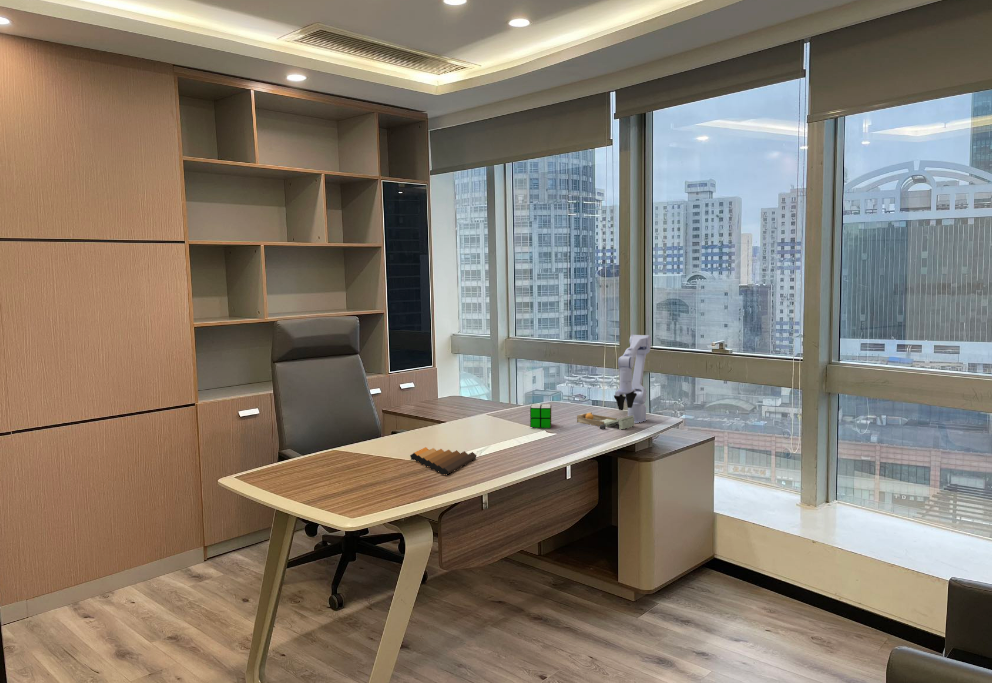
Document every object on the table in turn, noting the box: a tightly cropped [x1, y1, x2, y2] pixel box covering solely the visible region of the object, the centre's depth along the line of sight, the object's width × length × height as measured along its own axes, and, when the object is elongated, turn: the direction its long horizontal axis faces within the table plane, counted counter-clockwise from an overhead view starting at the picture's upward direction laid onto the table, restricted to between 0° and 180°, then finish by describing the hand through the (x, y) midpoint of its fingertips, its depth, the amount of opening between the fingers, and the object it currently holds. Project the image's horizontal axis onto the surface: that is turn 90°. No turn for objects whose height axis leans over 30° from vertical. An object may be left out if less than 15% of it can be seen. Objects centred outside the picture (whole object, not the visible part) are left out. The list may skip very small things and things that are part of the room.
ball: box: [586, 412, 594, 420], centre depth 355 cm, size 4×4×4 cm
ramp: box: [602, 415, 635, 430], centre depth 344 cm, size 10×16×6 cm, turn 46°
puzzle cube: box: [529, 403, 552, 429], centre depth 345 cm, size 10×10×10 cm
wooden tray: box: [576, 411, 618, 427], centre depth 352 cm, size 11×16×4 cm
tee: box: [599, 425, 607, 430], centre depth 338 cm, size 3×3×2 cm
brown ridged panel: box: [409, 446, 477, 475], centre depth 278 cm, size 25×3×25 cm
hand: (625, 408), depth 339 cm, fingers open, 7 cm apart
